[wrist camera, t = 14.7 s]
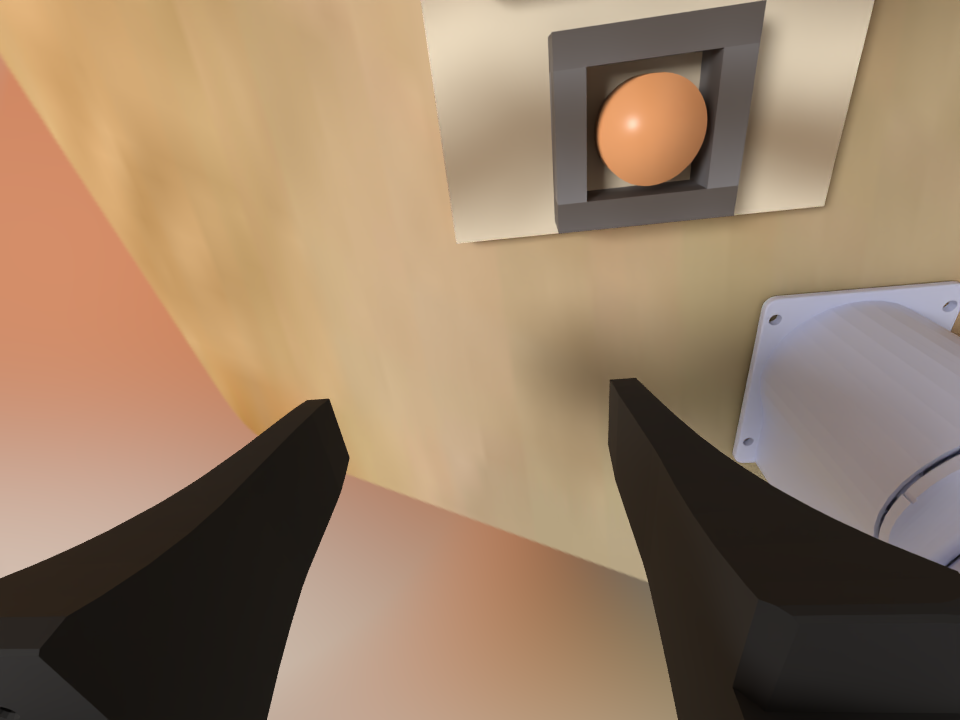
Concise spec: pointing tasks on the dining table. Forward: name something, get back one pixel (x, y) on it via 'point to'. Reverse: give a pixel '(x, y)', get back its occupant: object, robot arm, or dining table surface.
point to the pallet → (607, 63)
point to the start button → (651, 127)
